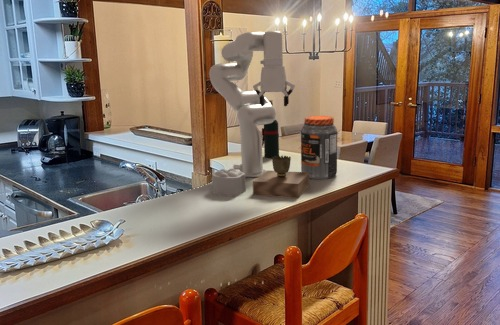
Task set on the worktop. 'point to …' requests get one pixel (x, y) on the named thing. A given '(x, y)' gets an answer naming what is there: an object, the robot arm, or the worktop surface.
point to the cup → (281, 165)
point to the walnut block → (281, 184)
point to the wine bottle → (270, 138)
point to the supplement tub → (319, 147)
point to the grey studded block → (228, 182)
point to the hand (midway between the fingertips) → (274, 106)
